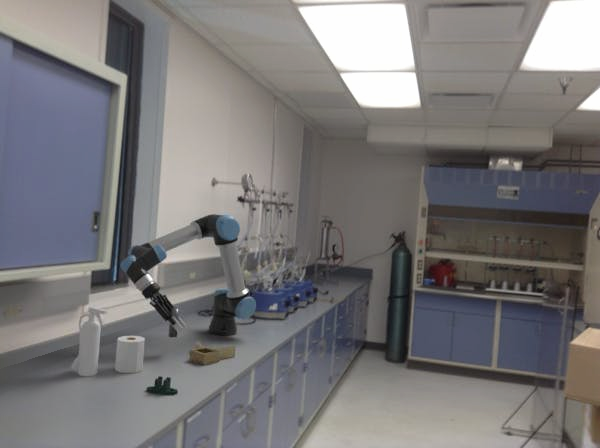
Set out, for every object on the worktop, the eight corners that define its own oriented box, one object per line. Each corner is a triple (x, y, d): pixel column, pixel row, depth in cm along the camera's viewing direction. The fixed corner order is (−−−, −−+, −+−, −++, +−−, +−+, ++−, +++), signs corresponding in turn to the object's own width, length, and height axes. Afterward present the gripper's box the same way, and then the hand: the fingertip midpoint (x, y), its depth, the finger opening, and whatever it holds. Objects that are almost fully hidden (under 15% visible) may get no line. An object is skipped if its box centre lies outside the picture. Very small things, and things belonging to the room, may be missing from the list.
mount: (179, 392, 186) (180, 378, 185) (175, 396, 181) (176, 382, 181) (149, 388, 186) (150, 374, 186) (144, 392, 182) (145, 378, 182)
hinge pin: (173, 334, 231) (175, 307, 230) (178, 336, 228) (180, 309, 228) (166, 336, 228) (168, 308, 227) (172, 337, 226) (174, 309, 225)
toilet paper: (134, 374, 199) (136, 343, 199) (109, 371, 202) (112, 339, 201) (147, 367, 209) (149, 337, 209) (123, 364, 211) (126, 334, 211)
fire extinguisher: (77, 367, 202) (83, 303, 200) (105, 373, 199) (111, 308, 198) (65, 372, 195) (71, 306, 194) (94, 379, 192) (100, 311, 191)
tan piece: (208, 348, 245) (209, 339, 245) (236, 357, 234) (237, 347, 234) (175, 355, 229) (175, 345, 229) (203, 365, 219) (204, 354, 218)
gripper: (149, 289, 238) (182, 330, 236) (133, 295, 221) (168, 338, 220) (161, 279, 237) (194, 319, 235) (146, 283, 220) (181, 327, 219)
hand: (181, 328), depth 227 cm, fingers closed on hinge pin, 3 cm apart
